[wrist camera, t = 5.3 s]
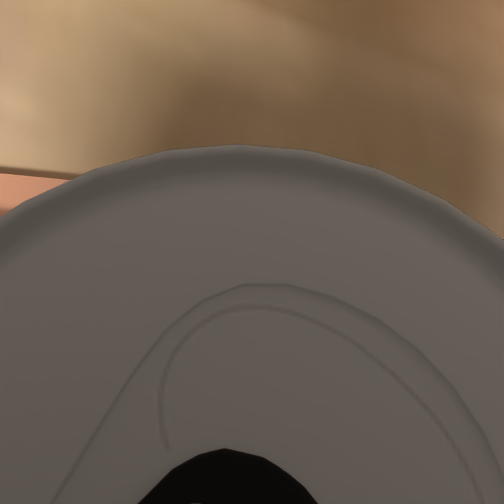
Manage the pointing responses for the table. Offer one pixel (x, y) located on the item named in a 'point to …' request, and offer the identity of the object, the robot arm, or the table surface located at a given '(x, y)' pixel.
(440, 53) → the table surface
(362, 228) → the energy drink can
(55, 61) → the table surface
